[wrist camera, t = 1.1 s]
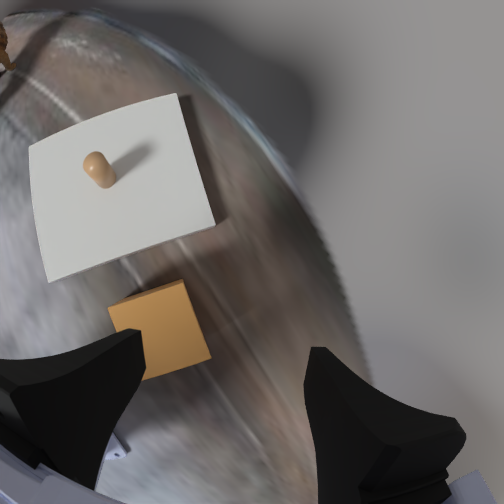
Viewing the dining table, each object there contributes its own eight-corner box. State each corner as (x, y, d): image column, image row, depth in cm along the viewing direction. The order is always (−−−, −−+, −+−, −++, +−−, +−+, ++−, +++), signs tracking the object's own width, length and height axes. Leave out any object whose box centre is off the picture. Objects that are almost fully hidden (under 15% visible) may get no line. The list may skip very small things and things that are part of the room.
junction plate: (56, 282, 18) (26, 285, 13) (35, 152, 17) (10, 130, 13) (213, 227, 21) (222, 216, 17) (175, 102, 21) (177, 67, 16)
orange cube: (147, 356, 19) (138, 381, 15) (123, 298, 19) (107, 307, 14) (204, 337, 21) (211, 358, 16) (182, 278, 21) (183, 282, 16)
